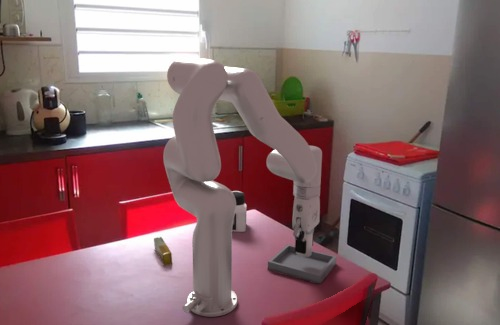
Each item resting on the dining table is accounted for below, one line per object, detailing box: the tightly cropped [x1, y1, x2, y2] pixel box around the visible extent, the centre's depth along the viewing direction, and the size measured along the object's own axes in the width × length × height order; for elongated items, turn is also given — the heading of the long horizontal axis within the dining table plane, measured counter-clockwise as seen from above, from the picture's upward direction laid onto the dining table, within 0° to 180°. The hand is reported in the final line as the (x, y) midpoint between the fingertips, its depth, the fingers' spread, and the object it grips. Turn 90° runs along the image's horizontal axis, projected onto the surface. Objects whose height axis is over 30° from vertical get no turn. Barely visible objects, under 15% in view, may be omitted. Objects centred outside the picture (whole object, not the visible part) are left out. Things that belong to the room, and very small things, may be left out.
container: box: [230, 190, 248, 233], centre depth 158 cm, size 8×8×13 cm
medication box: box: [153, 236, 173, 266], centre depth 137 cm, size 12×3×4 cm, turn 25°
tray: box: [267, 244, 338, 285], centre depth 132 cm, size 14×16×2 cm
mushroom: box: [296, 227, 315, 257], centre depth 130 cm, size 5×5×8 cm
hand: (304, 248), depth 131 cm, fingers closed on mushroom, 4 cm apart
